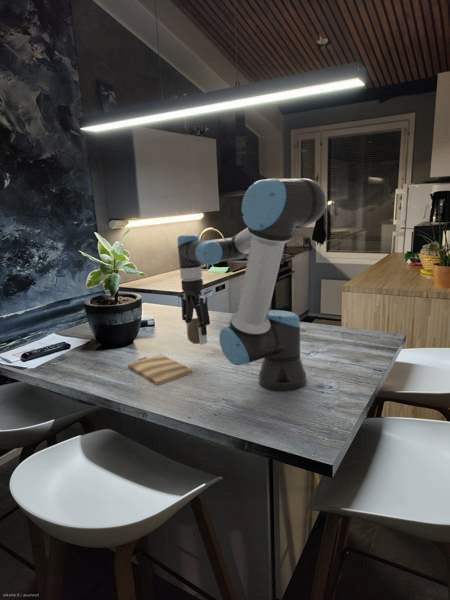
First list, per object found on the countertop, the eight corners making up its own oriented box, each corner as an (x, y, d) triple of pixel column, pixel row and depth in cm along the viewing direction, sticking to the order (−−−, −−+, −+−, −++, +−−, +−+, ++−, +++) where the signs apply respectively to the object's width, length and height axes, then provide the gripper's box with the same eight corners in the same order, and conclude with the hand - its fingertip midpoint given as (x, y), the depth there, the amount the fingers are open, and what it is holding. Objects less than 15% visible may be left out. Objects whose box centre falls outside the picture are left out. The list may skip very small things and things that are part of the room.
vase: (184, 344, 146) (182, 320, 144) (194, 338, 152) (192, 316, 150) (200, 345, 143) (198, 321, 141) (210, 340, 149) (208, 316, 147)
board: (192, 372, 143) (192, 369, 142) (157, 385, 134) (157, 381, 134) (158, 355, 161) (157, 352, 161) (125, 365, 153) (125, 362, 153)
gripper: (217, 279, 137) (222, 344, 142) (185, 275, 153) (191, 334, 157) (199, 282, 133) (205, 349, 138) (168, 278, 148) (174, 338, 153)
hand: (197, 341), depth 147 cm, fingers closed on vase, 7 cm apart
